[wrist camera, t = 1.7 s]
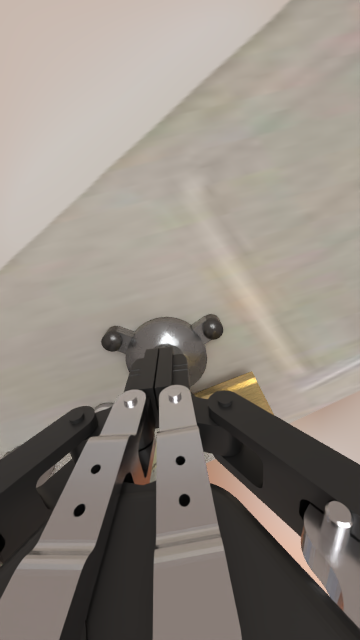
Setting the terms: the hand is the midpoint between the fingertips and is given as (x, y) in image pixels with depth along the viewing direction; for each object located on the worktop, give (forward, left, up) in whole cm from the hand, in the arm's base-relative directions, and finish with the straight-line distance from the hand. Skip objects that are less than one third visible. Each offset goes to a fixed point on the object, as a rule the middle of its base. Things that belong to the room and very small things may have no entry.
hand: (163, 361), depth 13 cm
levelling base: (-3, -14, -23) cm, 27 cm away
